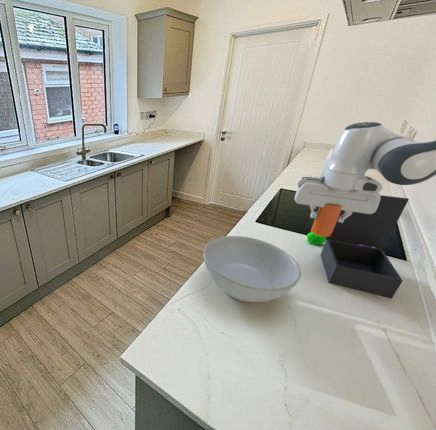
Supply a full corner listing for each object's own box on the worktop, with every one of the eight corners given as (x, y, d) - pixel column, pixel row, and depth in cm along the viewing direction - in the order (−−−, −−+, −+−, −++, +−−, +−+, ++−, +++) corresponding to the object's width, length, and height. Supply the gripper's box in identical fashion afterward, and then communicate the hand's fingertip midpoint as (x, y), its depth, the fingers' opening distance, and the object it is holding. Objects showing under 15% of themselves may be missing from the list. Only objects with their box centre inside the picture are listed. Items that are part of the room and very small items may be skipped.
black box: (390, 300, 80) (402, 280, 76) (327, 284, 86) (336, 266, 83) (372, 267, 94) (382, 249, 90) (319, 256, 100) (326, 239, 97)
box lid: (409, 199, 81) (407, 198, 82) (346, 191, 88) (345, 190, 89) (383, 248, 89) (382, 247, 90) (327, 238, 96) (326, 237, 97)
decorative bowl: (203, 257, 101) (207, 230, 96) (282, 272, 92) (292, 244, 87) (194, 306, 79) (199, 275, 74) (296, 333, 70) (311, 300, 65)
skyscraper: (307, 198, 147) (324, 148, 135) (318, 196, 149) (336, 147, 137) (321, 204, 140) (340, 152, 127) (332, 202, 142) (353, 151, 129)
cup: (329, 230, 88) (341, 200, 83) (332, 238, 84) (346, 207, 78) (309, 226, 90) (320, 197, 85) (311, 234, 86) (323, 204, 81)
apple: (317, 231, 102) (326, 223, 107) (300, 235, 108) (309, 228, 112) (326, 247, 101) (335, 239, 106) (309, 250, 107) (318, 243, 111)
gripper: (302, 177, 80) (289, 217, 87) (390, 187, 72) (369, 231, 78) (300, 172, 85) (288, 209, 92) (382, 180, 77) (363, 221, 83)
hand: (326, 219), depth 85 cm, fingers closed on cup, 5 cm apart
